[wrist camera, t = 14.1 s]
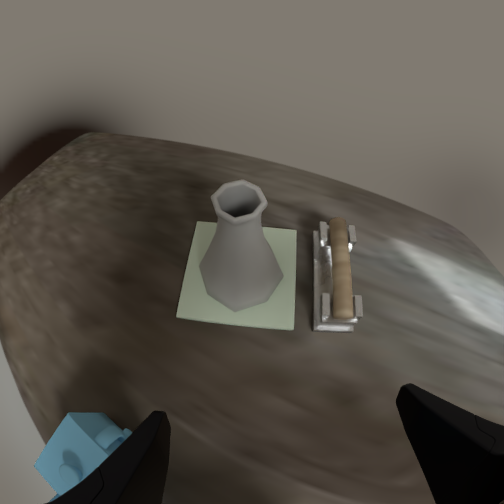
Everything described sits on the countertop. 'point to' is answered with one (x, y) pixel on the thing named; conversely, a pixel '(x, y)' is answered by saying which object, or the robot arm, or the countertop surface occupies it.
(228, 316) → the pad
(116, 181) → the countertop surface
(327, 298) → the cradle
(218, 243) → the flask
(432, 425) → the robot arm
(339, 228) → the rod
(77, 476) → the teapot
